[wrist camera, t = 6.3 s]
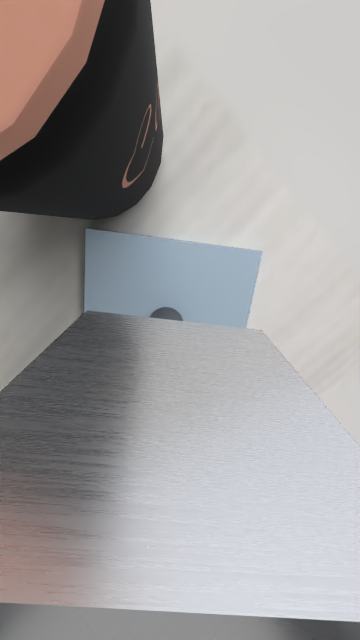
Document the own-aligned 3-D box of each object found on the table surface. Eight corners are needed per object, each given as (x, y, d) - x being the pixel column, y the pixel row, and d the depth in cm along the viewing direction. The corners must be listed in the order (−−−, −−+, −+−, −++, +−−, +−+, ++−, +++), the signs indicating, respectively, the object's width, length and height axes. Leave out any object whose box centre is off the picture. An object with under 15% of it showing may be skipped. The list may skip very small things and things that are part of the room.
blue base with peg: (85, 380, 26) (11, 512, 14) (89, 228, 22) (-16, 229, 10) (228, 393, 27) (274, 529, 15) (258, 250, 23) (358, 277, 11)
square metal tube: (83, 451, 15) (-79, 852, 5) (87, 310, 12) (-213, 590, 3) (230, 464, 15) (320, 854, 6) (261, 330, 13) (516, 630, 3)
